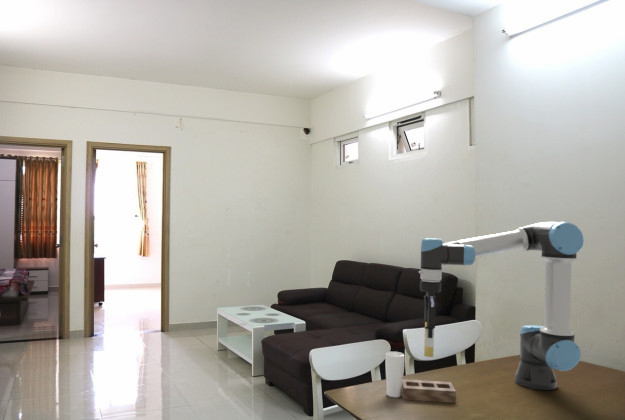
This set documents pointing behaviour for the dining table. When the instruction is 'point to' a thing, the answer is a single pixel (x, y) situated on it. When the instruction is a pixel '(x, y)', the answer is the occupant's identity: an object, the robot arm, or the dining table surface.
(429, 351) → the peg
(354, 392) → the dining table surface
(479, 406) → the dining table surface
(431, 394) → the hole block
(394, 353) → the drinking glass
